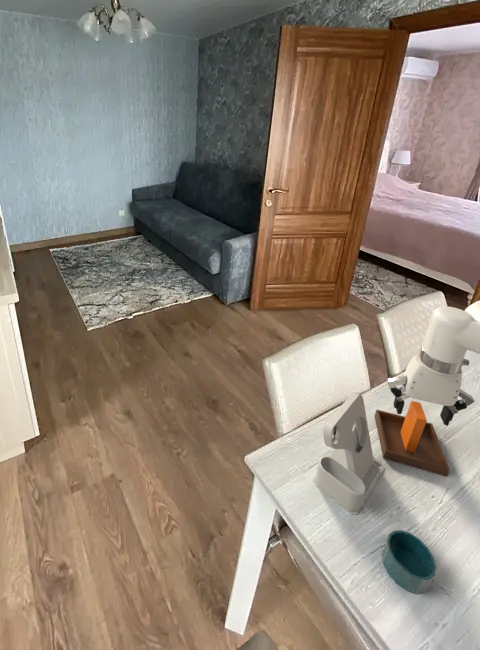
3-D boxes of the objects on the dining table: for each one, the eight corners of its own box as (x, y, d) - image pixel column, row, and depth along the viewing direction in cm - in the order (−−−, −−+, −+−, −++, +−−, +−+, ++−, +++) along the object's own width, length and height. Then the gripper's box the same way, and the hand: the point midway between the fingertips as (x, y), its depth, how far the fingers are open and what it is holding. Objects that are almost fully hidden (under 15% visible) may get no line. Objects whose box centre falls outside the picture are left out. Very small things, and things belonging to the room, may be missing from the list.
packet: (408, 434, 90) (420, 402, 86) (414, 452, 85) (427, 420, 81) (400, 431, 91) (411, 400, 87) (405, 450, 86) (417, 418, 82)
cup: (421, 555, 66) (428, 539, 64) (433, 603, 60) (442, 587, 58) (378, 539, 69) (384, 524, 67) (385, 584, 62) (392, 568, 60)
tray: (429, 430, 92) (432, 423, 91) (446, 476, 80) (450, 469, 79) (374, 415, 96) (376, 409, 95) (383, 458, 85) (385, 451, 84)
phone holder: (354, 521, 72) (373, 461, 65) (309, 483, 79) (322, 426, 72) (385, 467, 82) (404, 411, 76) (343, 438, 89) (357, 385, 83)
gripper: (479, 357, 78) (457, 413, 85) (392, 341, 84) (377, 395, 90) (494, 380, 72) (469, 438, 78) (399, 361, 77) (383, 417, 84)
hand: (420, 415), depth 84 cm, fingers open, 9 cm apart
